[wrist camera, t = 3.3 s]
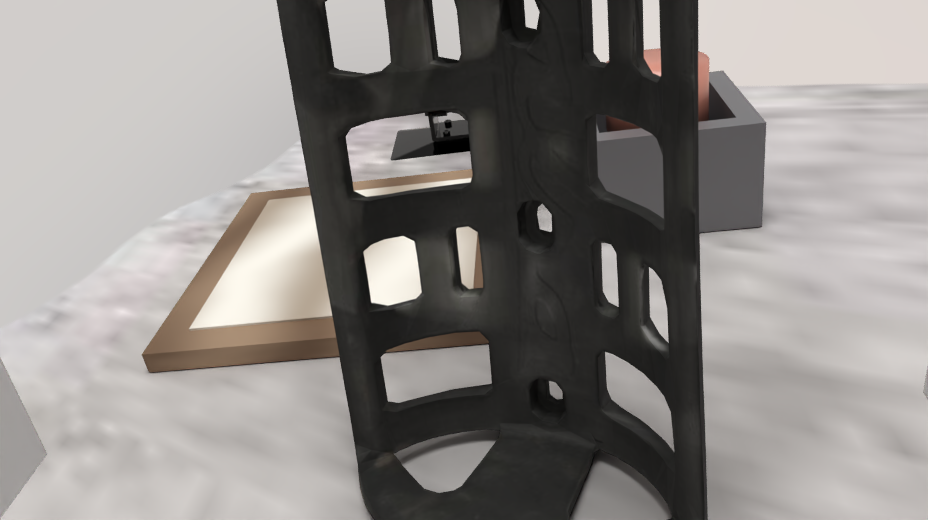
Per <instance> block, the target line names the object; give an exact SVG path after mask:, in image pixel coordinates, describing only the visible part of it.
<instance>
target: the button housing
mask: <svg viewBox="0 0 928 520" xmlns="http://www.w3.org/2000/svg"><path fill="white" fill-rule="evenodd" d="M596 125H597V160H598V177H599V179H600V181H601V182H602V184H603V186H604V188H605V189H606V191H608V192H611V193H613V194H616V195H618V196H620V197H623V198H625V199H627V200H630V201H632V202H634V203H636V204H639V205H641V206H643V207H646V208H648V209H650V210H651V211H653V212H654V213H656V214H658V215H659V216H661V217H662V218H663V219H664V196H663V155H662V152H661V149H660V147H659V144H658V141H657V138H656V137H654V136H653V135H652V134H651V133H649V132H647V131H645V130H644V129H642V128H639V129H630V130H621V131H612V132H608V131H607V128H606V115H599V114H596ZM765 136H766V122H765V121H764V119H763V118H762V117H761V116H760V115H759V113H758V112H757V111H756V110H755V109H754V107H753V106H752V105H751V104H750V103H749V101H748V100H747V99H746V98H745V97H744V95H743V94H742V93H741V92H740V91H739V89H738V88H737V87H736V86H735V85H734V83H733V82H732V81H731V80H730V79H729V77H728V76H727V75H726V74H725V73H724V71H716V72H709V121H701V122H698V145H699V233H700V232H711V231H721V230H731V229H741V228H752V227H762V208H763V184H764V160H765ZM601 242H602V241H601Z"/></svg>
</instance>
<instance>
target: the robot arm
mask: <svg viewBox="0 0 928 520" xmlns="http://www.w3.org/2000/svg"><path fill="white" fill-rule="evenodd" d="M923 393H924V394H925V395H926V397H927V398H928V368H927V374H926V379H925V385H924V391H923ZM46 455H47V452H46V450H45V448H44V446H43V444H42V442H41V440H40V438H39V436H38V434H37V432H36V430H35V428H34V426H33V424H32V421H31V419H30V417H29V415H28V413H27V411H26V409H25V407H24V405H23V403H22V401H21V399H20V397H19V395H18V393H17V391H16V389H15V387H14V385H13V383H12V381H11V379H10V377H9V374H8V372H7V370H6V368H5V366H4V364H3V362H2V360H1V358H0V518H1V517H2V516H3V514H4V513H5V511H6V510H7V509H8V507H9V506H10V505H11V503H12V502H13V500H14V499H15V498H16V496H17V495H18V494H19V492H20V491H21V489H22V488H23V487H24V485H25V484H26V483H27V481H28V480H29V478H30V477H31V476H32V474H33V473H34V472H35V470H36V469H37V467H38V466H39V465H40V463H41V462H42V461H43V459H44V458H45V456H46Z"/></svg>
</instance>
